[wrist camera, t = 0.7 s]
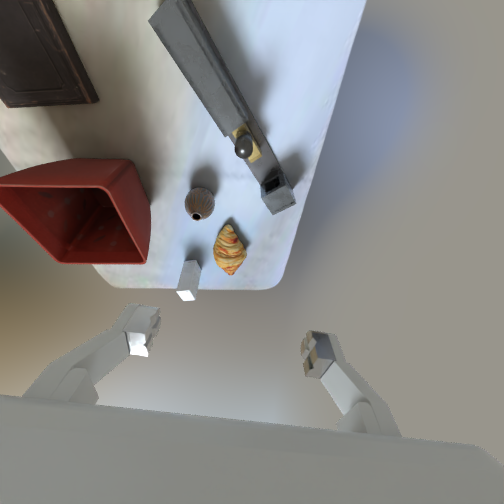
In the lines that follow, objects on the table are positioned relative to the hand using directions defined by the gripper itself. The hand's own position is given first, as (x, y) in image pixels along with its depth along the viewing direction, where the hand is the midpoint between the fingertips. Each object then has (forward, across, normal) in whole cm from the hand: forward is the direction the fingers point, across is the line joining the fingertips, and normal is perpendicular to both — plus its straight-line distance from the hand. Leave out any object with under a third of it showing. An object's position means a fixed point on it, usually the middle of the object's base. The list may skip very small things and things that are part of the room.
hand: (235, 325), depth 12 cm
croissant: (+49, +2, +26) cm, 56 cm away
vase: (+44, +11, +10) cm, 47 cm away
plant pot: (+43, +31, +11) cm, 54 cm away
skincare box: (+50, +13, +38) cm, 64 cm away
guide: (+41, +3, -6) cm, 42 cm away
